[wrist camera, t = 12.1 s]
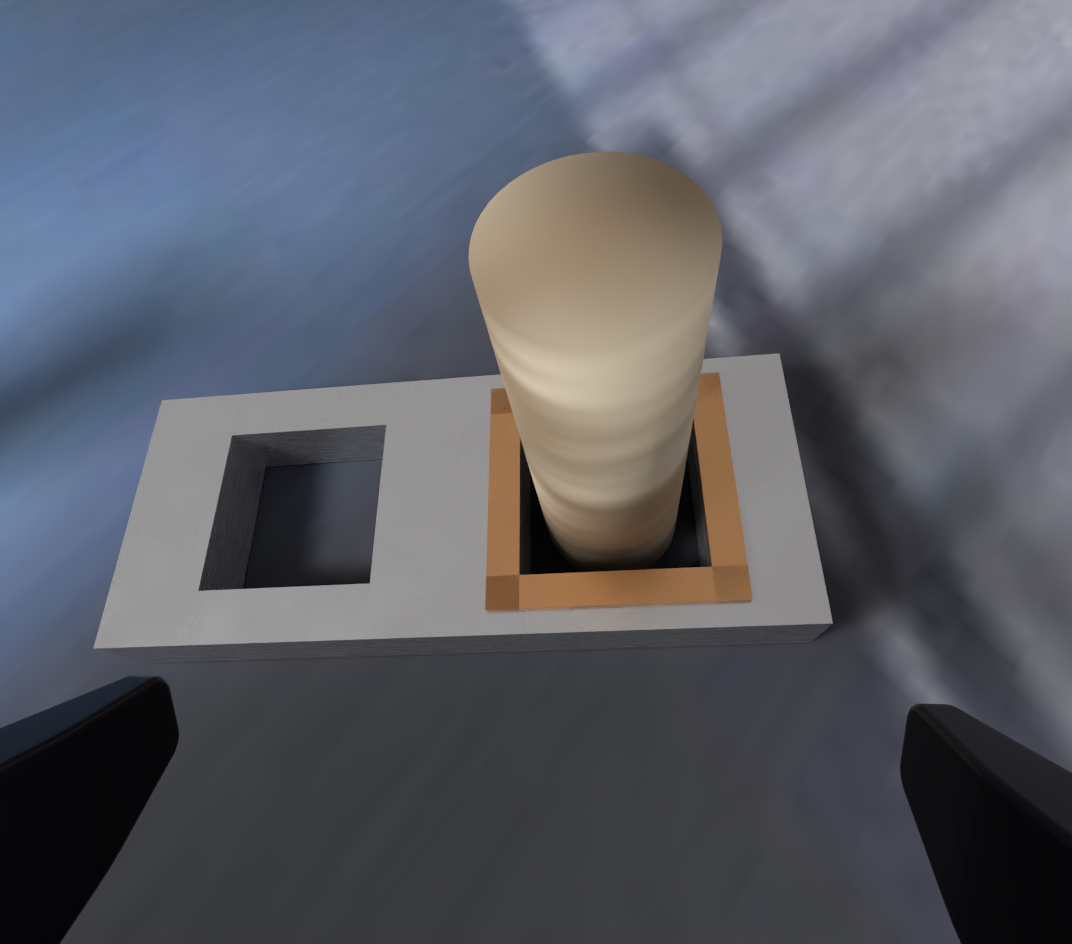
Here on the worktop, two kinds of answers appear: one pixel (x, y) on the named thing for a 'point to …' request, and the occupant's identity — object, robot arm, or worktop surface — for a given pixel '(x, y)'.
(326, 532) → the worktop surface
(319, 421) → the white peg board
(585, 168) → the maple peg
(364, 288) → the worktop surface
